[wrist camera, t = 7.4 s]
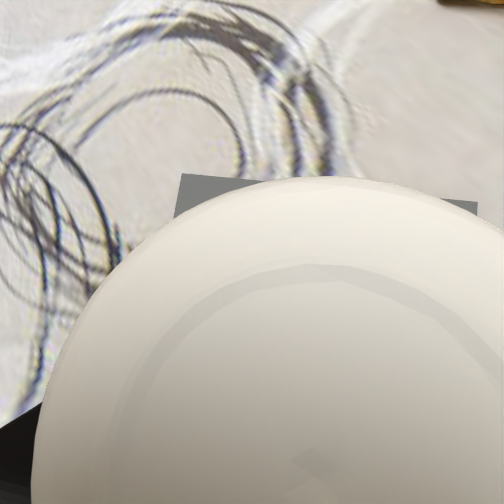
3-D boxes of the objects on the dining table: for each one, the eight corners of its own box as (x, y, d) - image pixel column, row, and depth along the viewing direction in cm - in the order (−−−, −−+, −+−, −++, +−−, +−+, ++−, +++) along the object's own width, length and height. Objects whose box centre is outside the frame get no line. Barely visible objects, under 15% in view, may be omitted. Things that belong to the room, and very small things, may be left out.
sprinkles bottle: (357, 291, 16) (656, 137, 2) (362, 403, 15) (863, 1095, 2) (251, 291, 16) (35, 169, 3) (251, 399, 15) (-52, 874, 2)
